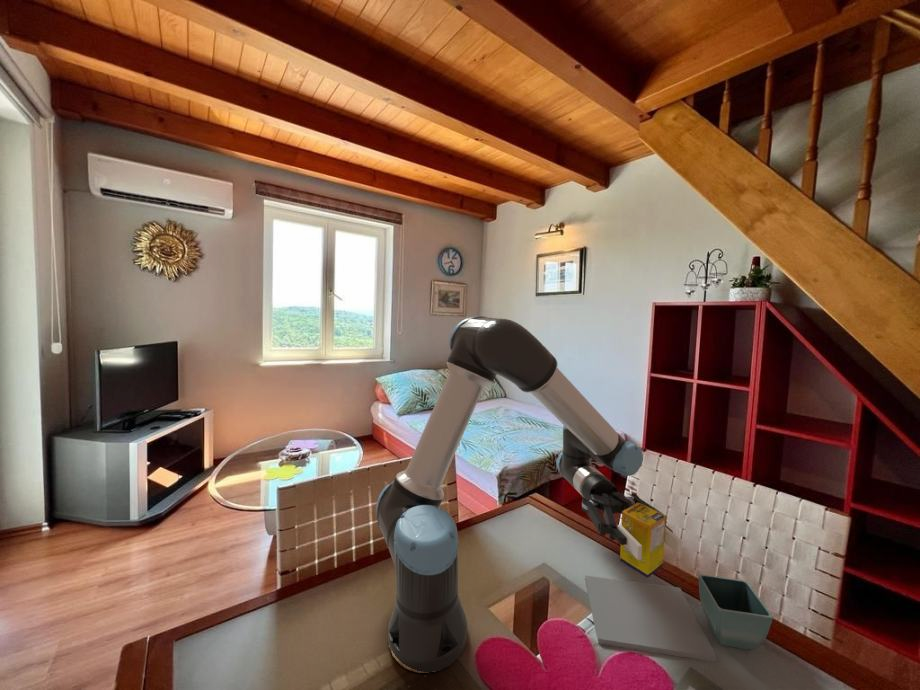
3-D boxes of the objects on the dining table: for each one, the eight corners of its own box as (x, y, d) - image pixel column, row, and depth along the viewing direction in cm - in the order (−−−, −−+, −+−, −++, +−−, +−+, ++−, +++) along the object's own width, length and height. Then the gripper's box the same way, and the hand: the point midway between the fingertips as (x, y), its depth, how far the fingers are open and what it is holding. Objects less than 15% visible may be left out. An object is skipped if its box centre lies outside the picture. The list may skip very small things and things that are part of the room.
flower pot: (770, 663, 65) (775, 617, 64) (714, 653, 66) (718, 609, 65) (742, 620, 73) (746, 580, 72) (694, 613, 75) (697, 573, 74)
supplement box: (634, 549, 78) (637, 501, 76) (663, 566, 73) (667, 515, 71) (618, 560, 74) (621, 510, 73) (647, 579, 69) (650, 526, 68)
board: (598, 643, 68) (598, 638, 68) (585, 579, 84) (585, 575, 84) (716, 662, 65) (716, 657, 65) (679, 591, 80) (679, 587, 80)
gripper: (631, 498, 92) (706, 561, 70) (555, 506, 89) (608, 575, 67) (633, 470, 91) (709, 525, 69) (556, 477, 88) (610, 537, 66)
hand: (659, 550), depth 68 cm, fingers closed on supplement box, 8 cm apart
